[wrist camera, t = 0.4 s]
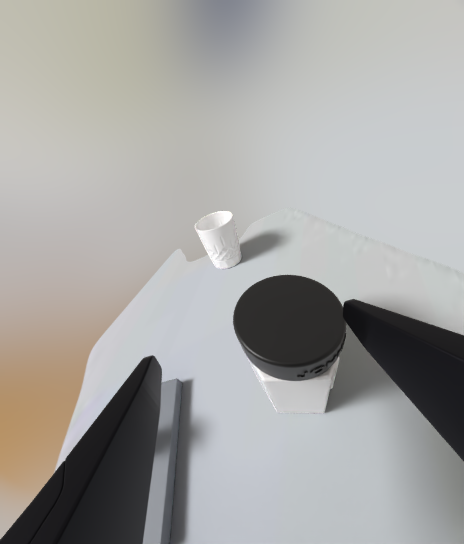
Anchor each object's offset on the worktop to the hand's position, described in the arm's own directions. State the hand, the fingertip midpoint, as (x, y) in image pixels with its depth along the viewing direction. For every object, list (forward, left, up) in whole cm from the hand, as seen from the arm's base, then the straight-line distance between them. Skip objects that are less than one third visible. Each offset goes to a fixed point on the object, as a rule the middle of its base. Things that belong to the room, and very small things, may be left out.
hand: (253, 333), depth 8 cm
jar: (+4, -2, -16) cm, 17 cm away
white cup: (+30, +3, -16) cm, 34 cm away
